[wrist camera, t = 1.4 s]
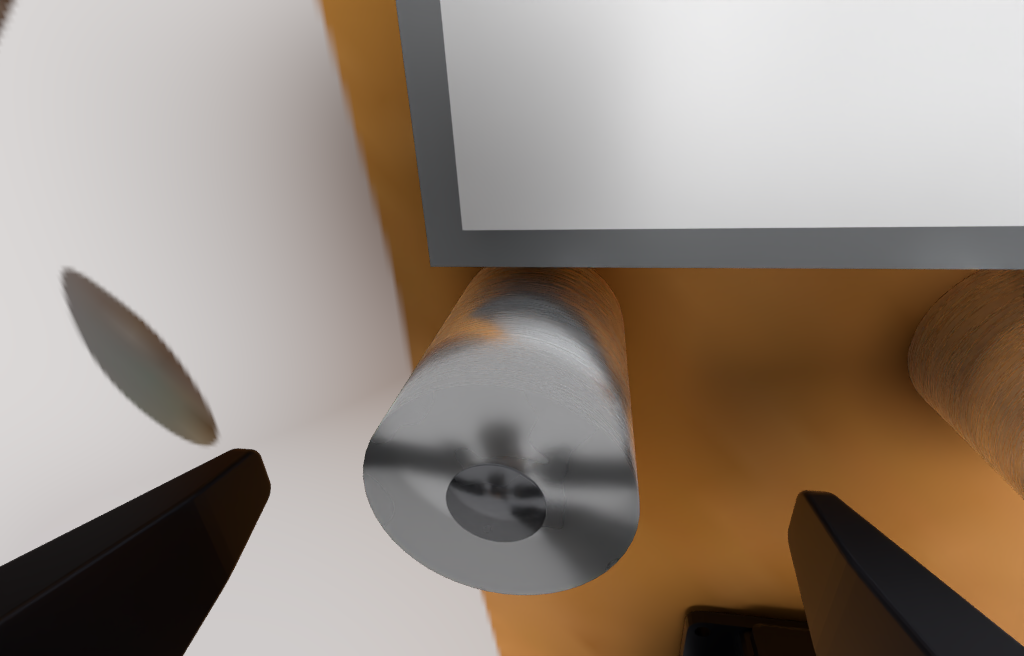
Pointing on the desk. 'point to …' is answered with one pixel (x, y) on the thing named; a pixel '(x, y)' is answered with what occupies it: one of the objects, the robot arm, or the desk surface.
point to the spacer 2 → (977, 366)
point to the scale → (719, 132)
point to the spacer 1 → (514, 437)
